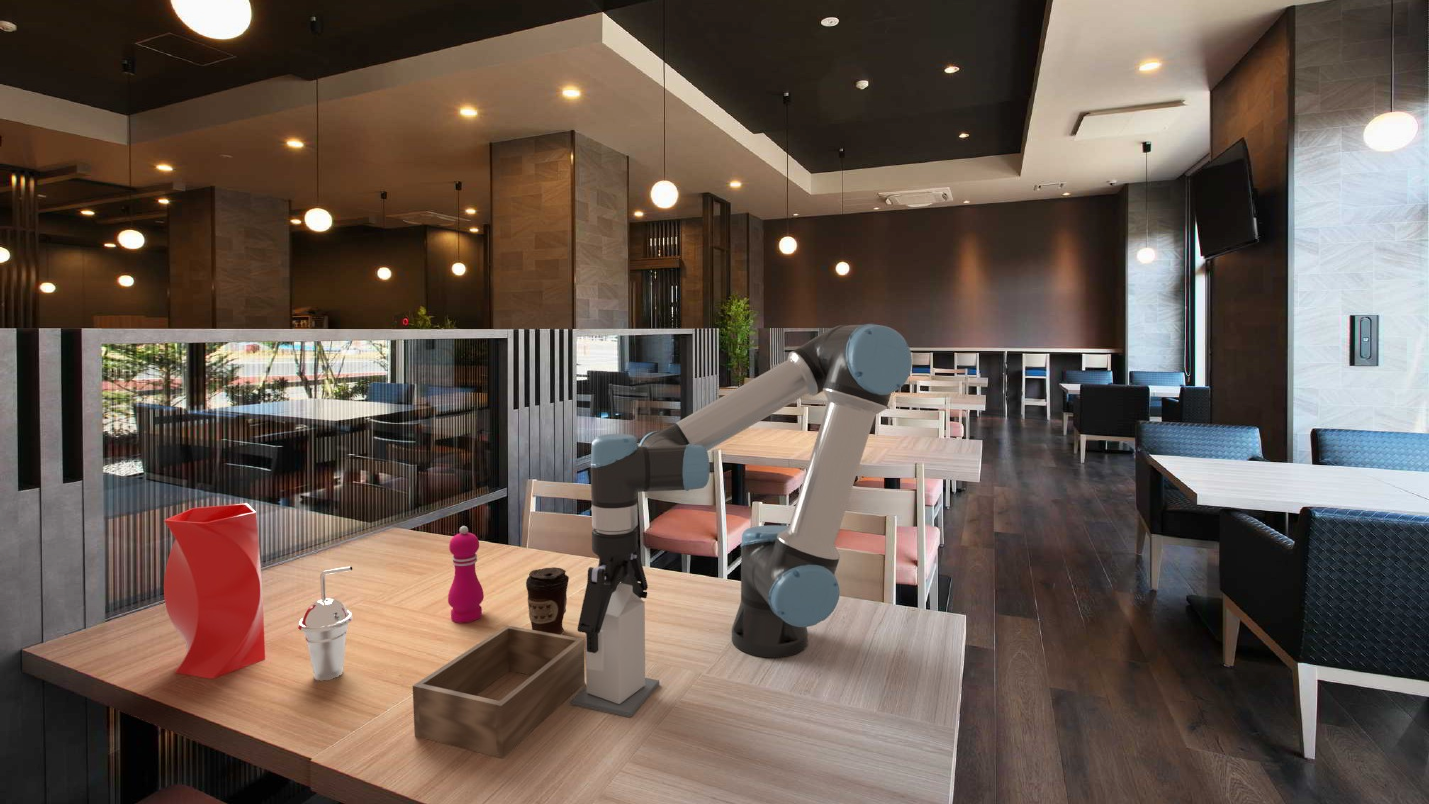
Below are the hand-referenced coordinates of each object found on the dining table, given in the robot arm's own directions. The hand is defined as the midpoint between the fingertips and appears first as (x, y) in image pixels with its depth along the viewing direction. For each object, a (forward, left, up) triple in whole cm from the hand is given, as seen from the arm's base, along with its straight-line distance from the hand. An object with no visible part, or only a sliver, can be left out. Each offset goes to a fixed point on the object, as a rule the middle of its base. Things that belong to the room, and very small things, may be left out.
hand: (615, 650), depth 117 cm
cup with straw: (+51, +12, -8) cm, 53 cm away
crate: (+15, +10, -8) cm, 20 cm away
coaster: (0, 0, -8) cm, 8 cm away
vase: (+74, +14, -8) cm, 76 cm away
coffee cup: (+24, -16, -8) cm, 30 cm away
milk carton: (0, 0, -7) cm, 7 cm away
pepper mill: (+45, -17, -8) cm, 49 cm away
